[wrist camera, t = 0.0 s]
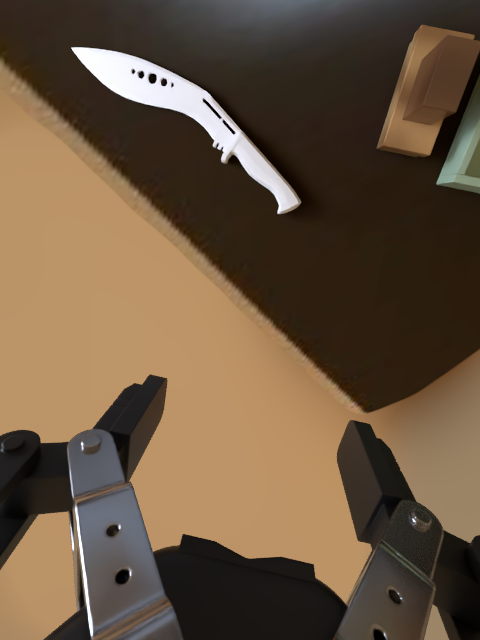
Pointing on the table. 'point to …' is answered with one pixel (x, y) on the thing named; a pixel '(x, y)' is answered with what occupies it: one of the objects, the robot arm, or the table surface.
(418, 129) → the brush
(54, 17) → the table surface
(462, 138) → the tray
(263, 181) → the knife
